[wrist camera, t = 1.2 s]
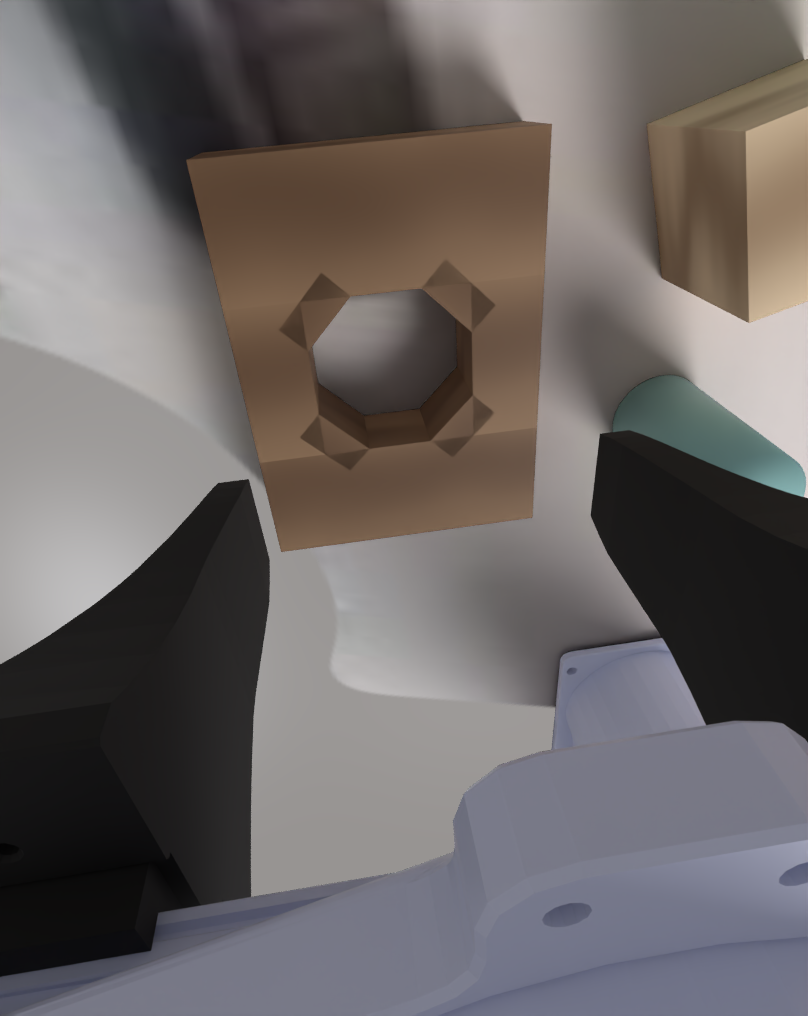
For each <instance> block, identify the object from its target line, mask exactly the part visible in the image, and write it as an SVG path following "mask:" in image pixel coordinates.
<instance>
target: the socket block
mask: <svg viewBox="0 0 808 1016" xmlns="http://www.w3.org/2000/svg"><path fill="white" fill-rule="evenodd" d="M551 130H552V124H546V123H536V122H526V121H520V122H510V123H500V124H490V125H480V126H469V127H459V128H449V129H439V130H429V131H419V132H408V133H398V134H388V135H378V136H368V137H357V138H347V139H337V140H327V141H317V142H306V143H296V144H286V145H276V146H266V147H255V148H245V149H235V150H225V151H215V152H204V153H200V154H198V155H196V156H194V157H192V158H190V159H187V160H186V162H187V166H188V170H189V174H190V178H191V182H192V186H193V190H194V195H195V199H196V203H197V207H198V211H199V215H200V219H201V223H202V228H203V232H204V236H205V240H206V244H207V248H208V252H209V256H210V261H211V265H212V269H213V273H214V277H215V281H216V285H217V289H218V294H219V298H220V302H221V306H222V310H223V314H224V318H225V322H226V326H227V331H228V335H229V339H230V343H231V347H232V351H233V355H234V359H235V364H236V368H237V372H238V376H239V380H240V384H241V388H242V392H243V397H244V401H245V405H246V409H247V413H248V417H249V421H250V425H251V429H252V434H253V438H254V442H255V446H256V450H257V454H258V458H259V462H260V467H261V471H262V475H263V479H264V483H265V487H266V491H267V495H268V499H269V503H270V508H271V512H272V516H273V520H274V524H275V528H276V532H277V537H278V541H279V545H280V549H281V552H284V551H292V550H299V549H306V548H314V547H321V546H328V545H336V544H343V543H350V542H358V541H365V540H372V539H380V538H387V537H394V536H402V535H409V534H416V533H423V532H431V531H438V530H445V529H453V528H460V527H467V526H475V525H482V524H489V523H497V522H504V521H511V520H519V519H526V518H532V516H533V495H534V475H535V455H536V434H537V414H538V394H539V373H540V353H541V333H542V313H543V292H544V272H545V252H546V231H547V211H548V191H549V170H550V150H551ZM420 288H422V289H423V290H424V291H425V292H426V293H427V294H428V295H430V296H431V297H432V298H433V299H434V300H435V301H437V302H438V303H439V304H440V305H441V306H442V307H443V308H445V309H446V310H447V311H448V312H449V313H450V314H451V315H453V316H454V317H455V318H456V343H457V367H456V368H455V369H454V371H453V372H452V373H451V374H450V375H449V376H448V377H447V378H446V380H445V381H444V382H443V383H442V384H441V385H440V386H439V387H438V389H437V390H436V391H435V392H434V393H433V394H432V395H431V396H430V397H429V399H428V400H427V401H426V402H425V403H424V404H423V405H422V406H421V408H420V409H414V410H406V411H398V412H390V413H382V414H374V415H366V416H364V415H362V414H361V413H360V412H358V411H357V410H355V409H354V408H353V407H351V406H350V405H348V404H347V403H345V402H344V401H343V400H341V399H340V398H338V397H337V396H336V395H334V394H333V393H331V392H330V391H329V390H327V389H326V388H324V387H323V386H321V385H320V384H319V383H318V379H317V373H316V367H315V361H314V355H313V349H312V346H313V344H314V343H315V342H316V341H317V339H318V338H319V337H320V335H321V334H322V333H323V331H324V330H325V329H326V328H327V326H328V325H329V324H330V322H331V321H332V320H333V318H334V317H335V316H336V315H337V313H338V312H339V311H340V309H341V308H342V307H343V305H344V304H345V303H346V301H347V300H348V299H349V298H350V296H358V295H367V294H376V293H385V292H393V291H402V290H411V289H420Z"/></svg>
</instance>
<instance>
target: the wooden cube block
mask: <svg viewBox="0 0 808 1016" xmlns="http://www.w3.org/2000/svg"><path fill="white" fill-rule="evenodd" d="M647 133H648V143H649V153H650V163H651V174H652V184H653V194H654V204H655V214H656V224H657V234H658V244H659V254H660V264H661V274H662V279H664V280H666V281H668V282H670V283H672V284H674V285H676V286H678V287H680V288H682V289H684V290H686V291H688V292H690V293H692V294H694V295H696V296H697V297H699V298H701V299H703V300H705V301H707V302H709V303H711V304H713V305H715V306H717V307H719V308H721V309H723V310H725V311H727V312H729V313H731V314H733V315H734V316H736V317H738V318H740V319H742V320H744V321H746V322H748V323H750V322H753V321H756V320H758V319H761V318H764V317H766V316H769V315H772V314H775V313H777V312H780V311H783V310H785V309H788V308H791V307H793V306H796V305H799V304H801V303H804V302H807V301H808V59H806V60H802V61H800V62H797V63H795V64H792V65H790V66H788V67H785V68H783V69H780V70H778V71H775V72H773V73H770V74H768V75H766V76H763V77H761V78H758V79H756V80H753V81H751V82H748V83H746V84H744V85H741V86H739V87H736V88H734V89H731V90H729V91H726V92H724V93H722V94H719V95H717V96H714V97H712V98H709V99H707V100H704V101H702V102H700V103H697V104H695V105H692V106H690V107H687V108H685V109H683V110H680V111H678V112H675V113H673V114H670V115H668V116H665V117H663V118H661V119H658V120H656V121H653V122H651V123H648V124H647Z"/></svg>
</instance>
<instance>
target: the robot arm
mask: <svg viewBox="0 0 808 1016" xmlns="http://www.w3.org/2000/svg"><path fill="white" fill-rule="evenodd" d="M591 517H592V520H593V522H594V524H595V527H596V529H597V531H598V534H599V536H600V538H601V540H602V542H603V545H604V547H605V549H606V551H607V553H608V555H609V556H610V558H611V560H612V561H613V563H614V564H615V566H616V567H617V569H618V571H619V572H620V574H621V575H622V577H623V578H624V580H625V581H626V583H627V585H628V586H629V588H630V589H631V591H632V592H633V594H634V595H635V597H636V598H637V600H638V601H639V603H640V604H641V606H642V607H643V609H644V610H645V612H646V613H647V615H648V616H649V618H650V620H651V621H652V623H653V624H654V626H655V627H656V629H657V630H658V632H659V633H660V635H661V637H662V638H658V639H651V640H645V641H638V642H631V643H625V644H618V645H611V646H605V647H598V648H591V649H585V650H578V651H572V652H568V653H566V654H564V655H563V656H562V657H561V659H560V668H559V678H558V688H557V699H556V709H555V720H554V730H553V741H552V750H548V751H542V752H538V753H535V754H531V755H528V756H525V757H522V758H519V759H516V760H513V761H510V762H507V763H503V764H501V765H498V766H497V767H496V768H494V769H493V770H492V771H490V772H489V773H488V774H487V775H485V776H484V777H482V778H481V779H480V780H478V781H477V782H476V783H474V784H473V785H472V786H470V787H469V788H468V790H467V791H466V792H465V793H464V795H463V798H462V800H461V802H460V805H459V807H458V810H457V812H456V815H455V818H454V820H453V826H454V842H455V848H454V852H451V853H449V854H446V855H443V856H440V857H438V858H435V859H432V860H429V861H427V862H424V863H421V864H419V865H415V866H413V867H410V868H407V869H404V870H402V871H399V872H396V873H390V874H384V875H378V876H372V877H367V878H361V879H355V880H349V881H343V882H337V883H331V884H325V885H320V886H313V887H308V888H302V889H296V890H290V891H284V892H278V893H272V894H266V895H260V896H254V897H251V869H250V868H251V775H252V742H253V715H254V705H255V695H256V688H257V681H258V675H259V668H260V661H261V654H262V647H263V641H264V634H265V628H266V621H267V614H268V607H269V585H270V580H269V579H270V578H269V577H270V574H269V573H270V571H269V570H270V569H269V568H270V566H269V556H268V552H267V548H266V544H265V540H264V536H263V533H262V529H261V525H260V522H259V517H258V513H257V509H256V506H255V502H254V498H253V494H252V490H251V486H250V483H249V480H248V479H247V480H239V481H231V482H224V483H218V484H217V485H216V486H215V487H214V488H213V489H212V490H211V491H210V492H209V493H208V494H207V496H206V497H205V498H204V499H203V500H202V501H201V503H200V504H199V505H198V506H197V507H196V508H195V509H194V511H193V512H192V513H191V514H190V515H189V516H188V517H187V518H186V520H185V521H184V522H183V523H182V524H181V525H180V526H179V527H178V528H177V530H176V531H175V532H174V533H173V534H172V535H171V536H170V537H169V538H168V539H167V540H166V541H165V542H164V543H163V544H162V545H161V546H160V547H159V548H158V549H157V550H156V551H155V552H154V553H153V554H152V555H151V556H150V557H149V558H148V559H147V560H146V561H145V562H144V563H143V564H142V565H141V566H140V567H139V568H138V569H137V570H135V572H133V573H132V574H131V575H130V576H129V577H128V578H126V579H125V580H124V581H123V582H122V583H121V584H119V585H118V586H117V587H116V588H114V589H113V590H112V591H111V592H109V593H108V594H107V595H106V596H104V597H103V598H102V599H101V600H100V601H98V602H97V603H95V604H94V605H93V606H91V607H90V608H89V609H87V610H86V611H84V612H83V613H81V614H80V615H78V616H77V617H75V618H74V619H73V620H71V621H70V622H68V623H67V624H65V625H64V626H62V627H61V628H60V629H58V630H57V631H55V632H54V633H52V634H51V635H49V636H48V637H46V638H44V639H43V640H41V641H40V642H38V643H36V644H35V645H33V646H31V647H30V648H28V649H27V650H25V651H23V652H21V653H20V654H18V655H16V656H14V657H13V658H11V659H9V660H7V661H6V662H4V663H2V664H0V1016H808V498H805V497H801V496H798V495H795V494H791V493H788V492H785V491H782V490H779V489H776V488H773V487H770V486H767V485H765V484H762V483H759V482H756V481H754V480H751V479H748V478H746V477H743V476H740V475H738V474H735V473H733V472H730V471H728V470H725V469H723V468H720V467H718V466H716V465H713V464H711V463H709V462H706V461H704V460H702V459H699V458H697V457H695V456H692V455H690V454H688V453H685V452H683V451H681V450H679V449H676V448H674V447H672V446H669V445H667V444H665V443H663V442H660V441H658V440H655V439H653V438H651V437H648V436H645V435H643V434H640V433H637V432H634V431H631V430H625V431H617V432H610V433H602V434H600V439H599V447H598V456H597V465H596V474H595V482H594V491H593V500H592V508H591Z"/></svg>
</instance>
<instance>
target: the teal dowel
mask: <svg viewBox="0 0 808 1016" xmlns="http://www.w3.org/2000/svg"><path fill="white" fill-rule="evenodd" d="M625 430H631V431H634V432H637V433H640V434H643V435H645V436H648V437H651V438H653V439H655V440H658V441H660V442H663V443H665V444H667V445H669V446H672V447H674V448H676V449H679V450H681V451H683V452H685V453H688V454H690V455H692V456H695V457H697V458H699V459H702V460H704V461H706V462H709V463H711V464H713V465H716V466H718V467H720V468H723V469H725V470H728V471H730V472H733V473H735V474H738V475H740V476H743V477H746V478H748V479H751V480H754V481H756V482H759V483H762V484H765V485H767V486H770V487H773V488H776V489H779V490H782V491H785V492H788V493H791V494H795V495H798V496H801V497H803V496H804V493H805V488H806V477H805V473H804V471H803V469H802V467H801V466H800V464H799V463H798V462H797V461H795V460H794V459H793V458H792V457H790V456H789V455H787V454H786V453H785V452H783V451H782V450H781V449H779V448H778V447H777V446H775V445H774V444H773V443H771V442H770V441H769V440H767V439H766V438H765V437H763V436H762V435H761V434H759V433H758V432H757V431H755V430H754V429H753V428H751V427H750V426H749V425H747V424H746V423H745V422H743V421H742V420H741V419H739V418H738V417H737V416H735V415H734V414H733V413H731V412H730V411H729V410H727V409H726V408H725V407H723V406H722V405H720V404H719V403H718V402H716V401H715V400H714V399H712V398H711V397H710V396H708V395H707V394H706V393H704V392H703V391H702V390H700V389H699V388H698V387H696V386H695V385H694V384H692V383H691V382H690V381H688V380H686V379H685V378H682V377H680V376H675V375H663V376H658V377H654V378H651V379H649V380H647V381H645V382H643V383H641V384H639V385H638V386H637V387H635V388H634V389H633V390H632V391H631V392H629V393H628V395H627V396H626V397H625V398H624V399H623V401H622V402H621V403H620V405H619V407H618V409H617V411H616V413H615V416H614V420H613V432H617V431H625Z"/></svg>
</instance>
